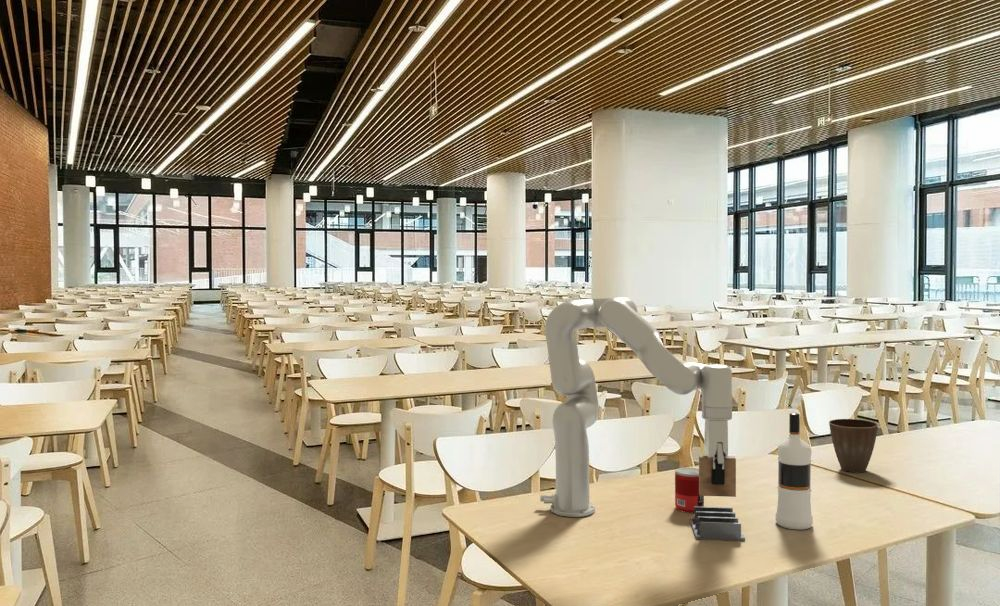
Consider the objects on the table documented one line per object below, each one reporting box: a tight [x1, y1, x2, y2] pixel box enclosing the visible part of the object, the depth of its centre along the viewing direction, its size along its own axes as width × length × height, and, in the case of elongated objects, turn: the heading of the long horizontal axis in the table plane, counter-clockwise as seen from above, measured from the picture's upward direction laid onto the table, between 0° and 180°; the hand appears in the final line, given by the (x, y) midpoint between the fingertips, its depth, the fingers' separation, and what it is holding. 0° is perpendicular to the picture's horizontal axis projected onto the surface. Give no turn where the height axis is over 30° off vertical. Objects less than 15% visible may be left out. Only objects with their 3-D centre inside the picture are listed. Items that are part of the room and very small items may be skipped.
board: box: [698, 455, 737, 498], centre depth 197 cm, size 9×2×10 cm, turn 82°
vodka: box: [775, 412, 814, 531], centre depth 201 cm, size 9×9×30 cm
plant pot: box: [828, 418, 879, 473], centre depth 255 cm, size 15×15×16 cm
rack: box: [689, 506, 746, 542], centre depth 198 cm, size 12×13×4 cm
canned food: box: [674, 467, 705, 514], centre depth 216 cm, size 8×8×11 cm
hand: (717, 482), depth 197 cm, fingers closed on board, 2 cm apart
